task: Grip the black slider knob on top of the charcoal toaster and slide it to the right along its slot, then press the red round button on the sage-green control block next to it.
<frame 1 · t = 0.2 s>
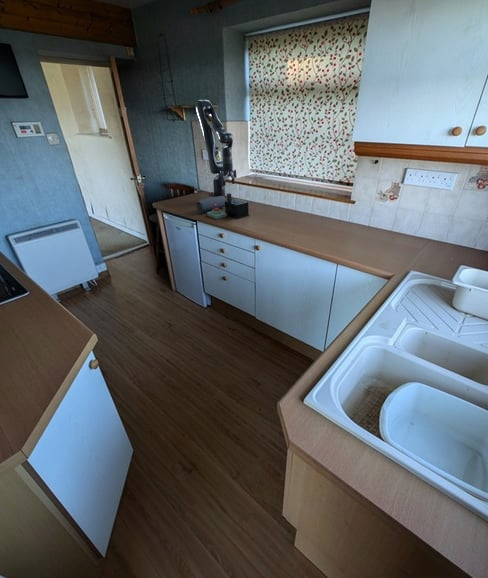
hand: (228, 184, 228), 17 cm above the worktop, tool pointing down, fingers open, 8 cm apart
bluetooth speaker: (212, 211, 229), on the worktop
button: (216, 209, 215), point 4 cm above the worktop, slide at 0.1 cm
slider: (229, 197, 213), point 13 cm above the worktop, slide at 0.0 cm
toaster: (237, 215, 218), on the worktop
button block: (216, 215, 217), on the worktop
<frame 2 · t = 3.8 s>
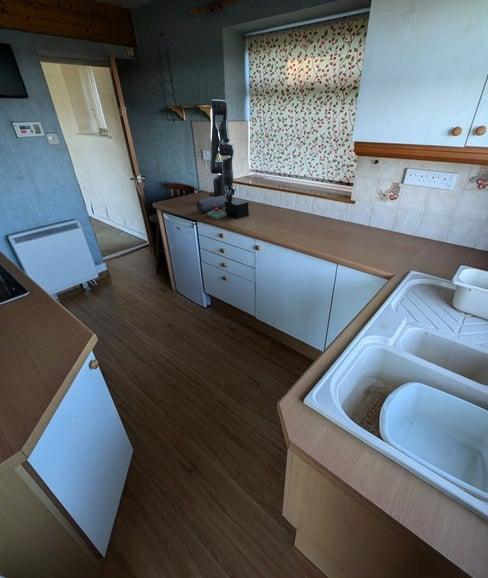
hand: (229, 200, 214), 11 cm above the worktop, tool pointing down, fingers closed on slider, 2 cm apart
slider: (229, 197, 213), point 13 cm above the worktop, slide at 0.0 cm, touching gripper
everything else where it was.
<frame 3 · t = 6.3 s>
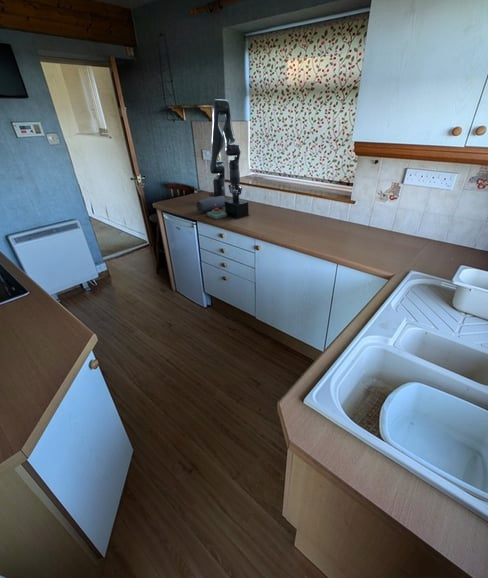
hand: (235, 199, 217), 10 cm above the worktop, tool pointing down, fingers open, 3 cm apart
slider: (235, 195, 216), point 13 cm above the worktop, slide at 5.7 cm
everything else where it was.
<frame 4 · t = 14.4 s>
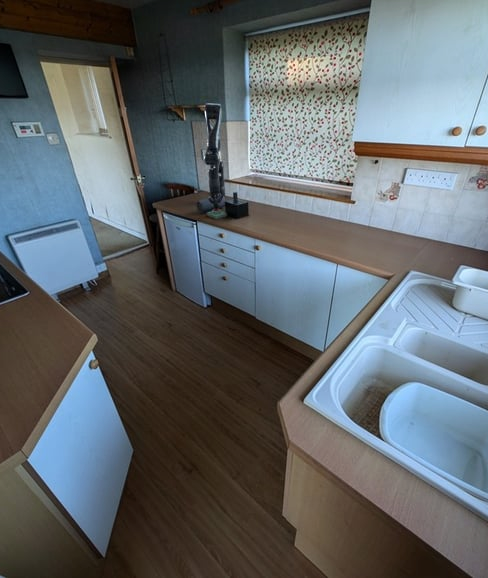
hand: (216, 209, 215), 5 cm above the worktop, tool pointing down, fingers closed
button: (216, 210, 215), point 4 cm above the worktop, slide at -0.2 cm, touching gripper
everything else where it was.
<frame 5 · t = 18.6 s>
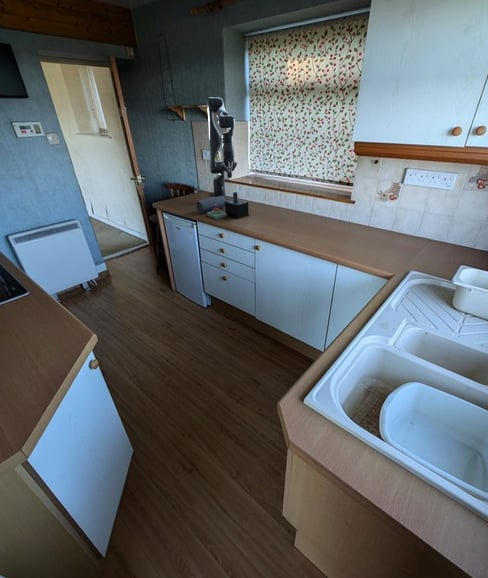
hand: (229, 177, 203), 27 cm above the worktop, tool pointing down, fingers closed
button: (216, 209, 215), point 4 cm above the worktop, slide at 0.1 cm
everything else where it was.
at the end: slider slide at 5.7 cm; button pushed in 1.1 cm at the most during the clip, back to where it started at the end; button slide at 0.1 cm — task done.
